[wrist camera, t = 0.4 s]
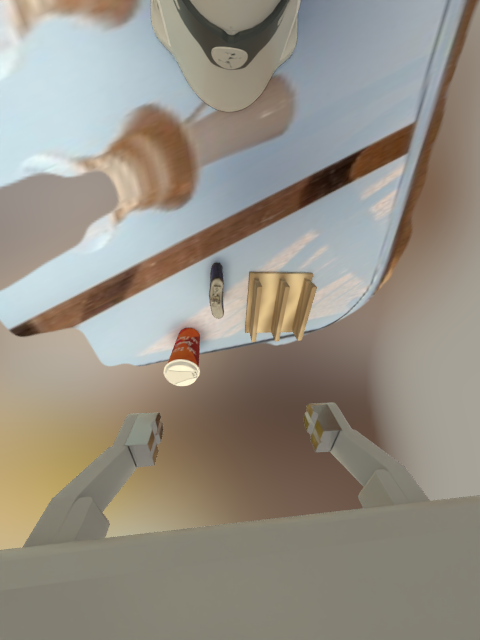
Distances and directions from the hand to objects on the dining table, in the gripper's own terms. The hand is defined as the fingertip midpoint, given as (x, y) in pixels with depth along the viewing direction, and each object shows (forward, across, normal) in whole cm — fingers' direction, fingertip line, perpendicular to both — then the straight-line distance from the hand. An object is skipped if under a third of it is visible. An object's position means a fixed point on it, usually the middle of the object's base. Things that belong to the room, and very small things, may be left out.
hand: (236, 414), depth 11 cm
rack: (+38, -13, +9) cm, 41 cm away
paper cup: (+39, +10, +19) cm, 45 cm away
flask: (+37, +2, +3) cm, 38 cm away
